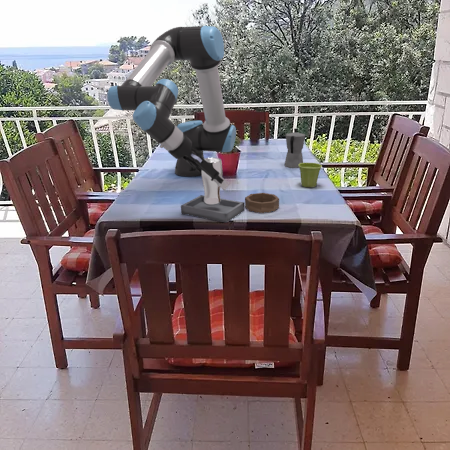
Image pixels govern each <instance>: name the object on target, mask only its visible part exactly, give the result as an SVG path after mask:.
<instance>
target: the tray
mask: <svg viewBox="0 0 450 450" xmlns="http://www.w3.org/2000/svg"><path fill="white" fill-rule="evenodd" d="M204 196H205V195H204V194H203V195H202V194H200V195H198V196H197V197H195V198H192V199H191V200H189V201H187V202H185V203H183V204H181V205H180V214H181V213H182V214H181V215H185V214H189V215H188V216H190V215H193V216H192V217H195V216H198V217H197V218H200V217H203V218H202V219H205V218H207V220H210V219H212V220H211V221H216V222H221V223H228V222H230V221H231V220H233V219H234V218H236V217H237V216H239V215H240V214H241V212H242V213H243V212H245V201H244V202H243V201H237V200H232V199H226V198H221V203H220V204H218V205H206V204H204ZM238 214H239V215H238ZM235 216H236V217H235ZM232 218H233V219H232Z"/></svg>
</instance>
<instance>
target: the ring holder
mask: <svg viewBox="0 0 450 450" xmlns="http://www.w3.org/2000/svg"><path fill="white" fill-rule="evenodd" d="M244 208H246V209H247V210H248V212H252V211H254V212H253V213H258V212H259V214H265V213H264V212H267V213H272V212H271V211H274V212H276V211H277V210H278V209H279V208H280V198H279V197H278V196H277V195H276V194H273V193H267V192H258V193H250V194H248V195H247V196H246V197H245V198H244ZM276 209H277V210H276Z"/></svg>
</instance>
